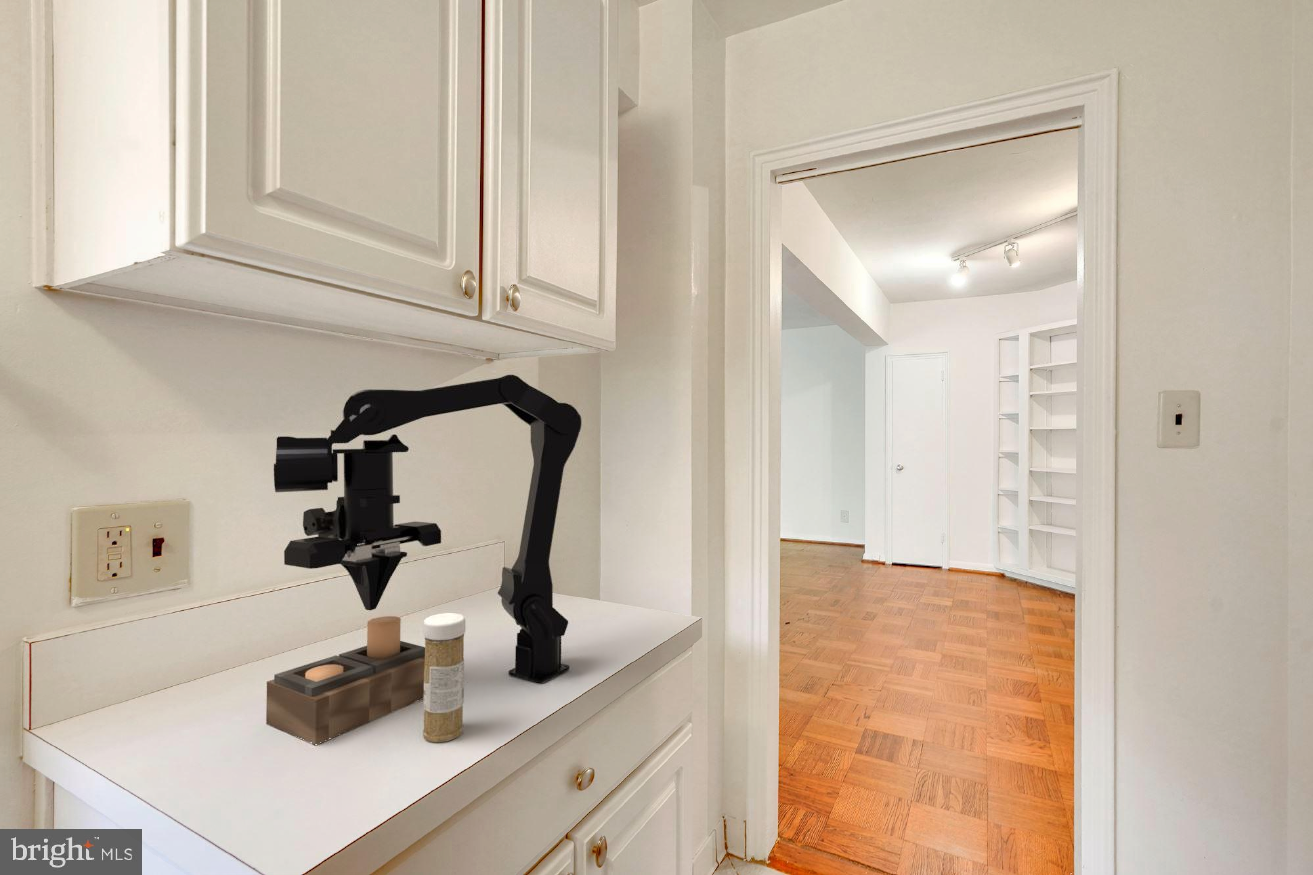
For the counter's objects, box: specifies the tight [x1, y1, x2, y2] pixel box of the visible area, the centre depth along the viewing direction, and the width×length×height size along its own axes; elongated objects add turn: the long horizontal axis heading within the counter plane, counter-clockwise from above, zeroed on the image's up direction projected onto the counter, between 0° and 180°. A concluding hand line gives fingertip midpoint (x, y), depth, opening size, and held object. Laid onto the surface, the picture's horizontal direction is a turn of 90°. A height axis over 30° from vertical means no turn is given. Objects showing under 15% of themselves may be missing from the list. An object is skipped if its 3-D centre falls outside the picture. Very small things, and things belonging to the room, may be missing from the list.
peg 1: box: [305, 665, 343, 682], centre depth 73 cm, size 4×4×6 cm
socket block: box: [265, 640, 425, 745], centre depth 76 cm, size 16×10×6 cm, turn 150°
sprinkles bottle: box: [422, 612, 466, 743], centre depth 70 cm, size 5×5×14 cm
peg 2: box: [366, 615, 402, 660], centre depth 80 cm, size 4×4×6 cm
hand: (370, 609), depth 78 cm, fingers closed
